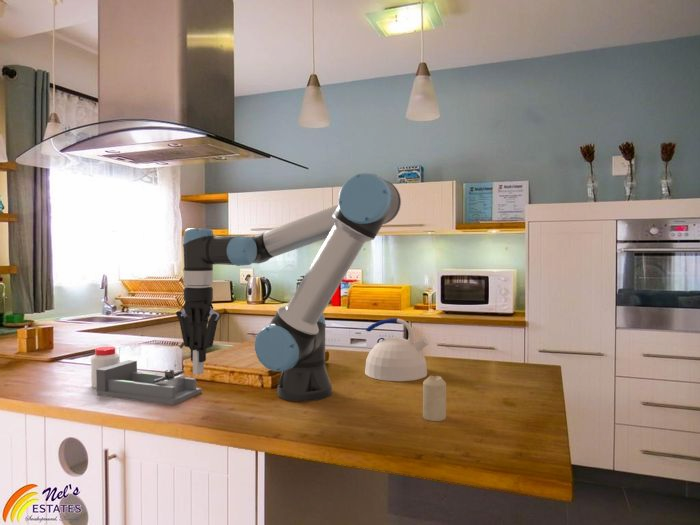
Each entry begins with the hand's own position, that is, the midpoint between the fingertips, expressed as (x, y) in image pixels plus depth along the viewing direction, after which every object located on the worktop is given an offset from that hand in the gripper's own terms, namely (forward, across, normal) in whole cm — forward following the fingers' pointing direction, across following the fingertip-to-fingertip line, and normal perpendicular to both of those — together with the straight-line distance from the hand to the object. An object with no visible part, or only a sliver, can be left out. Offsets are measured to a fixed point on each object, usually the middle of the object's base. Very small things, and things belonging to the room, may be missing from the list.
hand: (198, 373), depth 138 cm
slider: (+6, +10, 0) cm, 11 cm away
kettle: (+7, -42, -46) cm, 63 cm away
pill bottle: (+8, +36, -3) cm, 37 cm away
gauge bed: (+7, +16, 0) cm, 18 cm away
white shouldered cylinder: (+7, -62, -8) cm, 63 cm away
